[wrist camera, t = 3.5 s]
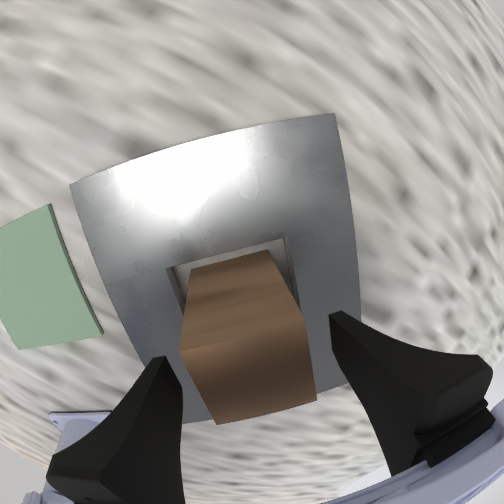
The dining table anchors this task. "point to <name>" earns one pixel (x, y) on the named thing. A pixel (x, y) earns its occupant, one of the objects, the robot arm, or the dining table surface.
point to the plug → (245, 340)
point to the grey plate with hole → (225, 231)
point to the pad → (41, 285)
